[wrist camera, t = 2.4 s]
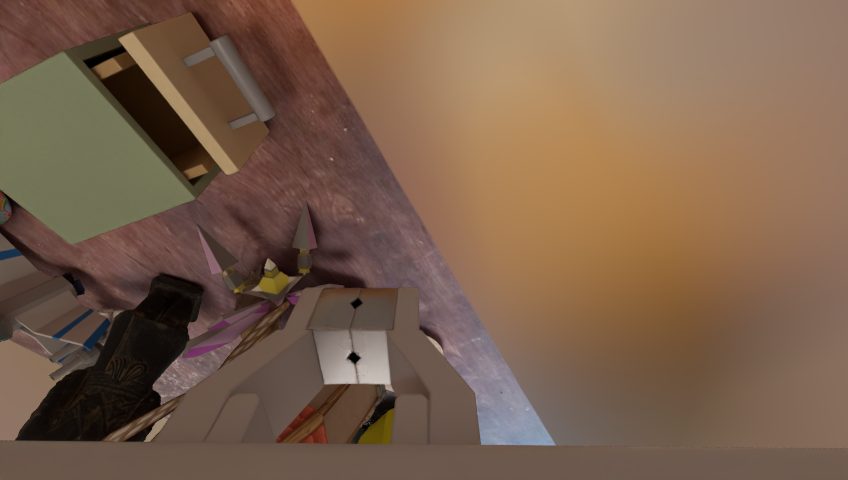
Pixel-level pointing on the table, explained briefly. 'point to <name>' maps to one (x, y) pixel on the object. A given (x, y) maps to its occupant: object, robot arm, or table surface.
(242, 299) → the brown tapered piece
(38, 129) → the cabinet
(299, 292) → the toy
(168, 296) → the statue
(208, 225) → the table surface
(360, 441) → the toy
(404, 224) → the table surface
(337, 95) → the table surface
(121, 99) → the drawer
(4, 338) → the toy spacecraft
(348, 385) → the miniature windmill
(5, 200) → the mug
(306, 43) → the table surface
